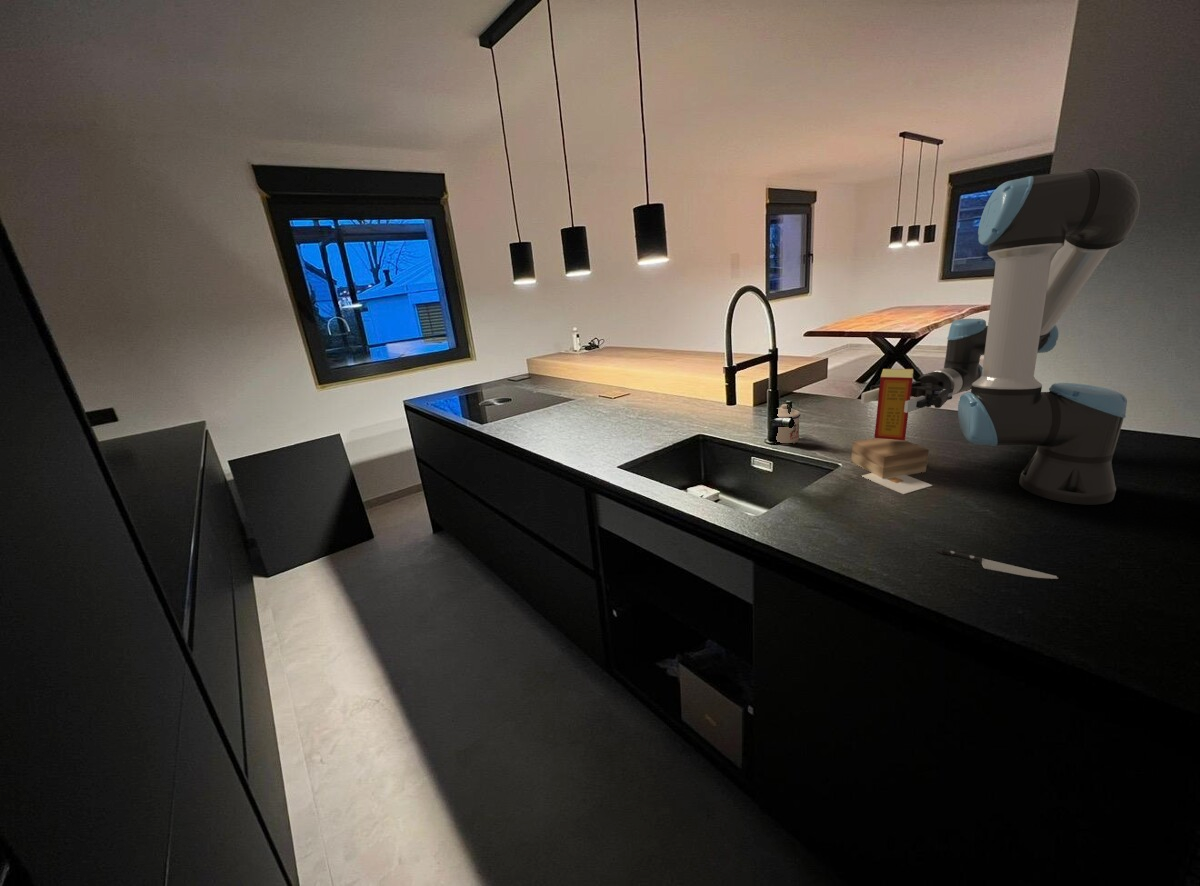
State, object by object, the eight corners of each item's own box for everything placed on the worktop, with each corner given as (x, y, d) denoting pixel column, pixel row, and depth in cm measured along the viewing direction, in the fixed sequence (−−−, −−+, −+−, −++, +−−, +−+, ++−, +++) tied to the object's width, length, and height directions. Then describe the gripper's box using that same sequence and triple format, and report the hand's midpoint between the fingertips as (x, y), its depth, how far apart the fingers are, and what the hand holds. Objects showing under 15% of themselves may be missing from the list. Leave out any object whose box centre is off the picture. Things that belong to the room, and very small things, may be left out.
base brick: (925, 471, 119) (928, 449, 117) (882, 479, 118) (884, 456, 116) (890, 455, 131) (893, 435, 129) (850, 462, 129) (852, 441, 127)
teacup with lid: (796, 446, 144) (797, 409, 140) (765, 443, 149) (766, 407, 145) (803, 434, 153) (805, 399, 150) (774, 431, 158) (775, 397, 154)
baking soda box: (877, 426, 127) (883, 367, 121) (905, 428, 123) (913, 367, 118) (874, 437, 120) (880, 375, 114) (904, 440, 116) (912, 376, 111)
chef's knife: (1078, 593, 76) (1076, 582, 78) (1080, 588, 75) (1078, 577, 77) (934, 559, 87) (935, 550, 89) (934, 554, 87) (936, 545, 89)
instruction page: (932, 485, 112) (932, 484, 112) (903, 494, 110) (903, 492, 110) (888, 469, 123) (888, 467, 123) (861, 476, 121) (861, 475, 121)
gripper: (984, 407, 117) (930, 427, 108) (893, 391, 137) (841, 407, 128) (989, 377, 114) (934, 396, 106) (896, 365, 134) (843, 380, 125)
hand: (883, 402), depth 117 cm, fingers closed on baking soda box, 10 cm apart
